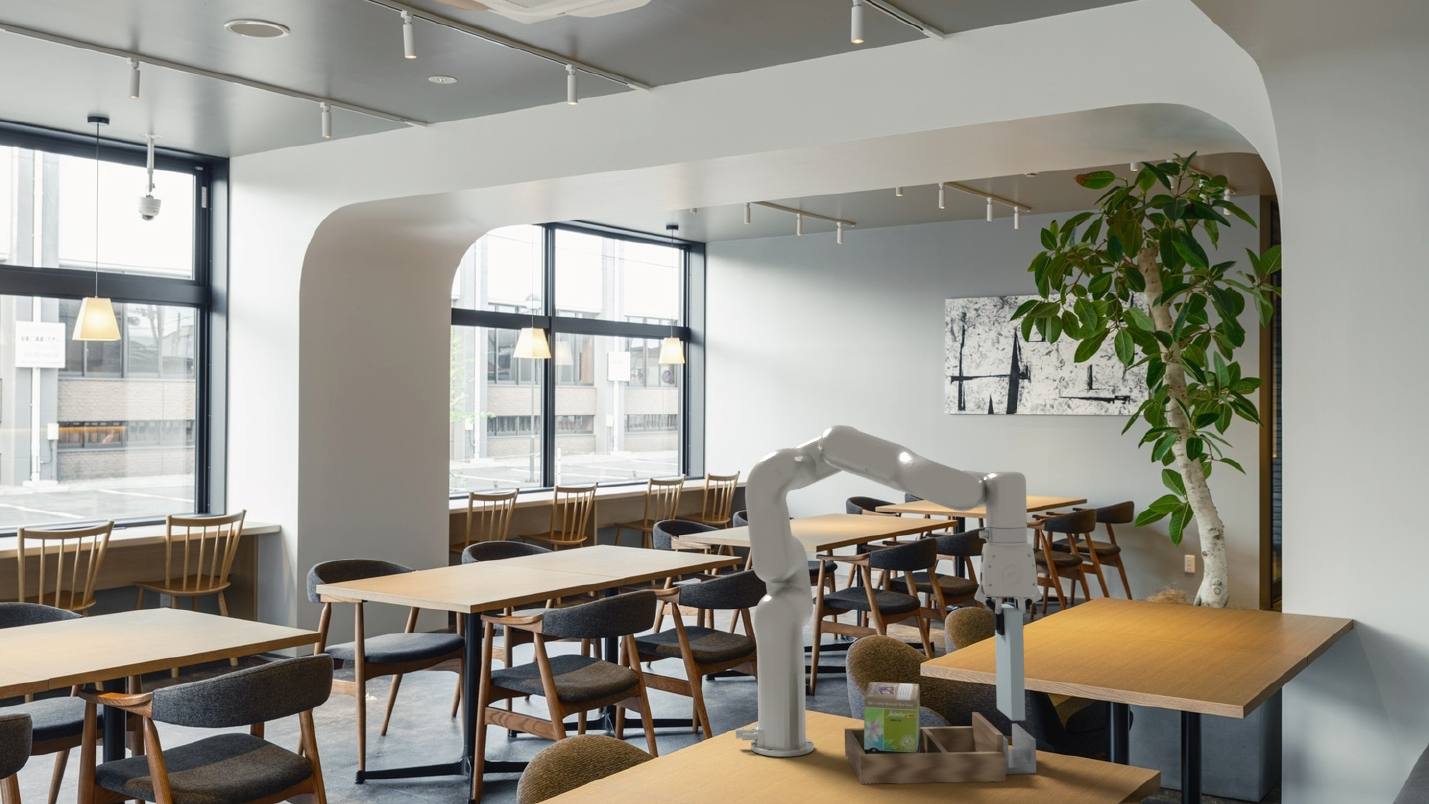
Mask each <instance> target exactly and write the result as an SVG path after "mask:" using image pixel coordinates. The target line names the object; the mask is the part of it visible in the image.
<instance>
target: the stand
mask: <svg viewBox="0 0 1429 804" xmlns="http://www.w3.org/2000/svg"><path fill="white" fill-rule="evenodd" d="M1011 738H1012V739H1011V743H1012V748H1011V749H1009V739H1008V738H1006V736H1005V735H1003V746H1004V752H1005V754H1006V775H1023V774H1024V775H1025V774H1026V775H1030V774H1032V775H1033V774H1034V775H1036V774H1037V742H1036V741H1037V740H1036V738H1034V736H1032V735H1031V734H1030V733H1029V732H1027V731H1026V730H1025V729H1024V728H1022V727H1021V726H1020V725H1019V724H1018V723H1011Z"/></svg>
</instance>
